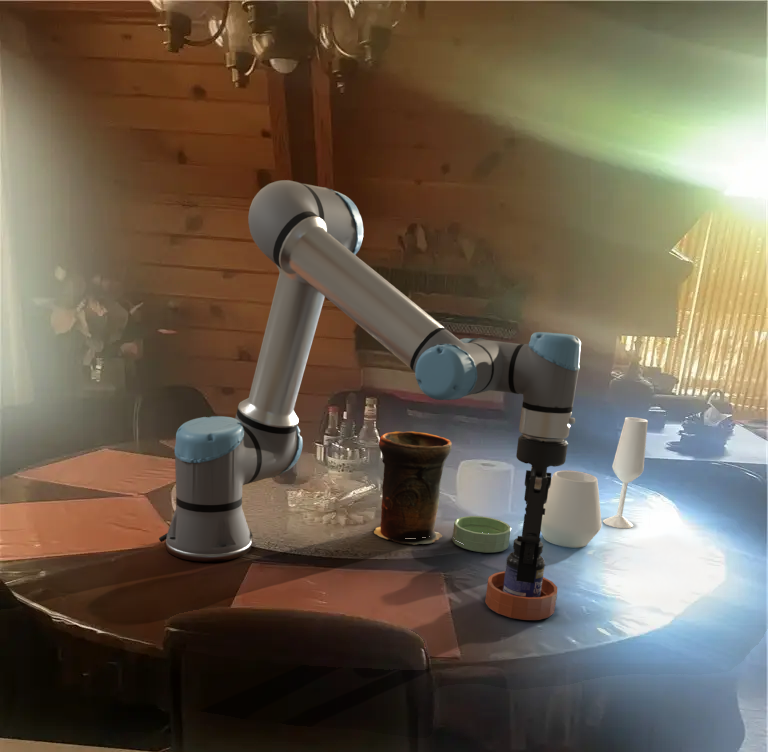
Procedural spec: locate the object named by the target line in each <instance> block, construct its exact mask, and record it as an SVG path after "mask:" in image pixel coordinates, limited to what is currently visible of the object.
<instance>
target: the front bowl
mask: <svg viewBox="0 0 768 752" xmlns="http://www.w3.org/2000/svg"><path fill="white" fill-rule="evenodd" d="M504 577H505V570H504V571H499V572H498V571H497V572H494V573H492V574H491V575H489V576H488V579H487V584H486V593H485V600H484V603H485V604H486V606H487V607H488V608H489V609H490V610H492V611H493V612H495V613H496V614H498V615H501V616H504V617H508V618H510V619H516V620H520V621H521V620H522V621H540V620H544V619H548V618H550V617H551V616H552V615H553V614H555V610H556V604H557V597H558V586H557V585H556V584H555V583H554V582H553V581H552V580H550V579H548V578H546V577H544V576H543V580H542V587H541V594H540V597H522V596H516V595H512V594H509V593H506V592H503V585H504Z"/></svg>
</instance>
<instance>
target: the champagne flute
mask: <svg viewBox="0 0 768 752" xmlns="http://www.w3.org/2000/svg"><path fill="white" fill-rule="evenodd" d="M623 421H624V422H623V425H622V429H621V433H620V436H619V440H618V442H617V443H618V444H617V448H616V451H615V454H614V458H613V462H612V465H611V466H612V467H611V468H612V471H613V473H614V475H615V476H616V477H617V479H618V480H619V481H621V483H622V484H621V487H620V495H619V500H618V506H617V510H616V511H617V512H616V514H615V515H612V516H610V517H607V518H604V519H603V520H602V522H603V523H604V524H605V525H606V526H609V527H612V528H618V529H631V528H633V527H634V524H633V523H632V522H631V521H629V519H627V518H626V517H624V515H623V512H624V507H625V502H626V496H627V490H628V484H629V483H632V482H634V481H635V480H636V479H638V478H639V477H640V476H641V475H642V474H643V473H644V470H645V468H644V467H645V459H646V458H645V457H646V446H647V445H646V444H647V435H648V434H647V433H648V424H649V423H648V422H649V421H648V420H647V419H645V418H641V417H632V416H627V417H625V418H624V420H623Z"/></svg>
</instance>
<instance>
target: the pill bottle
mask: <svg viewBox="0 0 768 752" xmlns="http://www.w3.org/2000/svg"><path fill="white" fill-rule="evenodd" d="M517 538H518V537H517ZM517 538H515V539H513V543H512V549H513V551H511V552H510V553H509V554H508V555H507V557H506V563H505V569H504V571H505V577H504V585H503V592H506V593H509V594H512V595H516V596H522V597H540V594H541V587H542V580H543V577H544V574H545V573H544V572H545V566H546V561H545V559H544V557H543V556H542V555H541V554H542V553H543V549H544V543H543V542H542V541H541V540H540V543H539V550H538V557H537V565H536V572H535V579H534V583H528V582H521V581H516V578H517V570H518V562H519V554H520V546H521V542H519V541H517Z"/></svg>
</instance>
